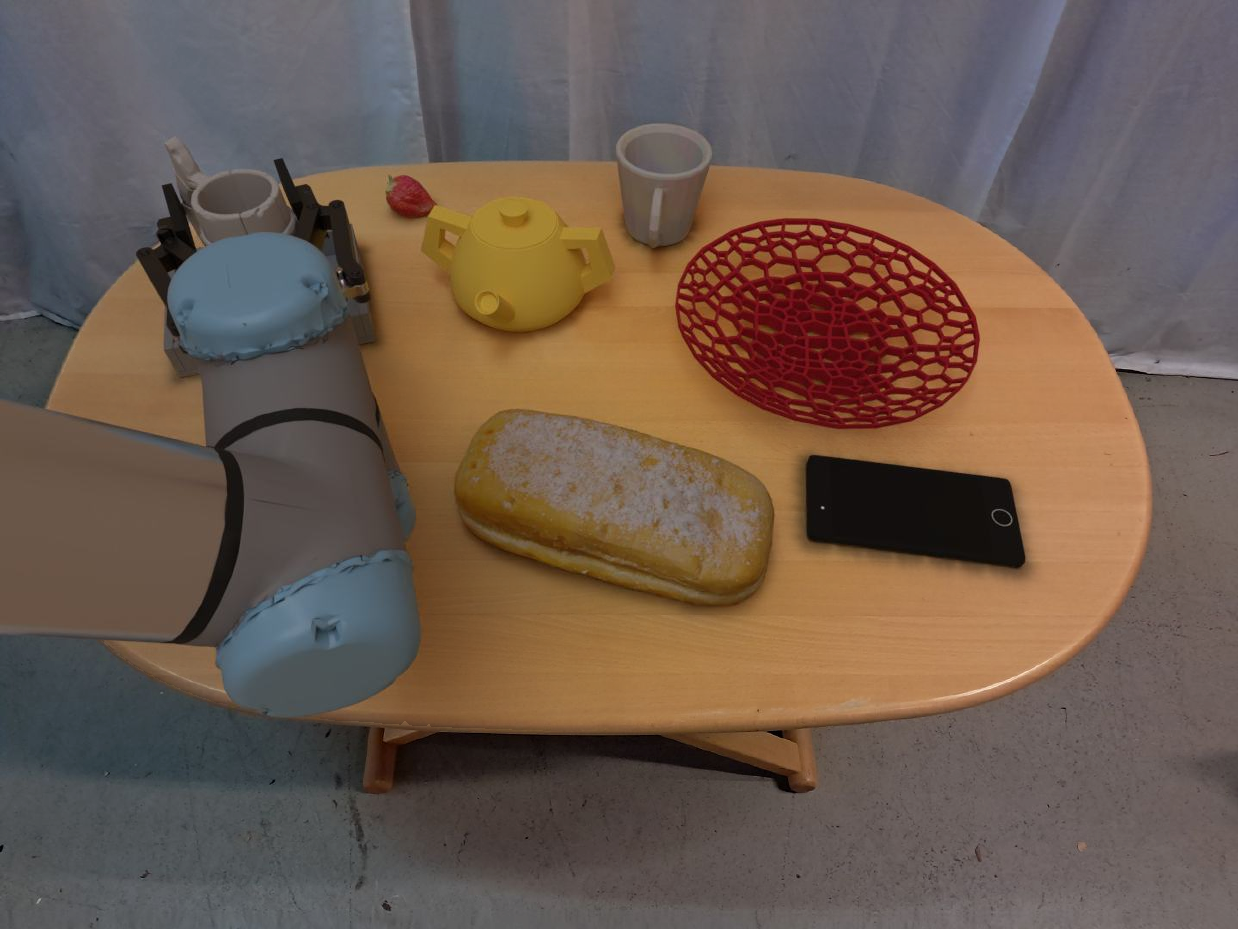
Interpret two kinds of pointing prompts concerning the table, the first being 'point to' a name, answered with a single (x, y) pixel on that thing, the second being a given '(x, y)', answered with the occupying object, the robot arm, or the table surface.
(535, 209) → the teapot
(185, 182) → the mug
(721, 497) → the bread
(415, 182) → the fruit
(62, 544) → the robot arm
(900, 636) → the table surface
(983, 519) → the cell phone
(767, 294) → the bowl
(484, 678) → the table surface
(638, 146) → the mug
